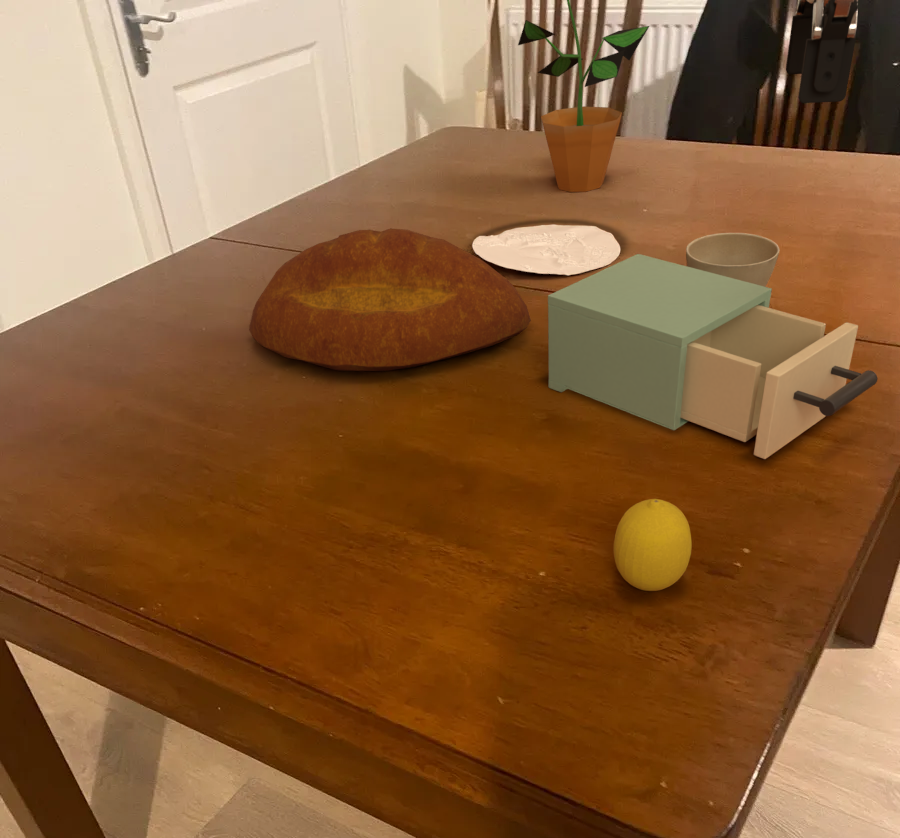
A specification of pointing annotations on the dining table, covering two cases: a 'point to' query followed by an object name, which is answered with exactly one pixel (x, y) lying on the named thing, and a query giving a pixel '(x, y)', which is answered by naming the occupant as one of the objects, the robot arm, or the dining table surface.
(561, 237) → the plaque
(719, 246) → the flower pot
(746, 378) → the drawer
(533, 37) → the potted plant
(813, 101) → the robot arm
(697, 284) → the cabinet
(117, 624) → the dining table surface
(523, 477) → the dining table surface
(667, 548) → the lemon
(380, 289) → the bread
